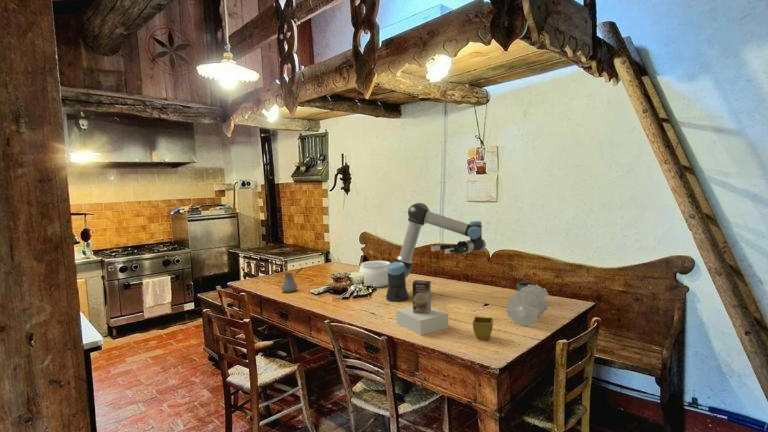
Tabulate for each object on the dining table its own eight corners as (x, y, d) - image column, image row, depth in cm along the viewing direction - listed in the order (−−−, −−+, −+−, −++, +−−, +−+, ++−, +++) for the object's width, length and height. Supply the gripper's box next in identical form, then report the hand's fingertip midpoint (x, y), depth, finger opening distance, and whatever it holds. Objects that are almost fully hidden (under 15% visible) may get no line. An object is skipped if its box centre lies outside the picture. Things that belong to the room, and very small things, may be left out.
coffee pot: (289, 293, 289) (288, 273, 288) (278, 292, 295) (277, 272, 294) (309, 287, 307) (308, 267, 306) (298, 285, 313) (297, 266, 312)
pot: (401, 283, 309) (401, 262, 308) (378, 290, 289) (378, 268, 288) (373, 278, 328) (373, 258, 327) (350, 285, 309) (349, 264, 307)
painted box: (396, 324, 218) (396, 309, 218) (423, 317, 228) (422, 303, 227) (420, 336, 200) (420, 320, 199) (448, 328, 209) (448, 313, 208)
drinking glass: (515, 304, 245) (515, 284, 244) (518, 299, 253) (518, 281, 253) (533, 306, 240) (533, 286, 239) (535, 301, 249) (535, 282, 248)
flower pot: (472, 340, 191) (472, 322, 190) (475, 334, 199) (474, 316, 198) (491, 342, 188) (491, 323, 187) (493, 335, 196) (493, 317, 195)
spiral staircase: (513, 333, 208) (526, 317, 228) (545, 324, 198) (556, 308, 218) (497, 301, 210) (512, 287, 231) (528, 290, 200) (540, 277, 221)
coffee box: (412, 312, 211) (411, 282, 210) (414, 309, 218) (413, 280, 216) (429, 313, 209) (429, 283, 208) (431, 310, 215) (430, 280, 214)
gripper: (478, 255, 247) (451, 259, 237) (452, 250, 269) (426, 253, 258) (478, 242, 247) (451, 246, 236) (451, 238, 268) (426, 242, 258)
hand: (438, 250), depth 247 cm, fingers open, 13 cm apart
